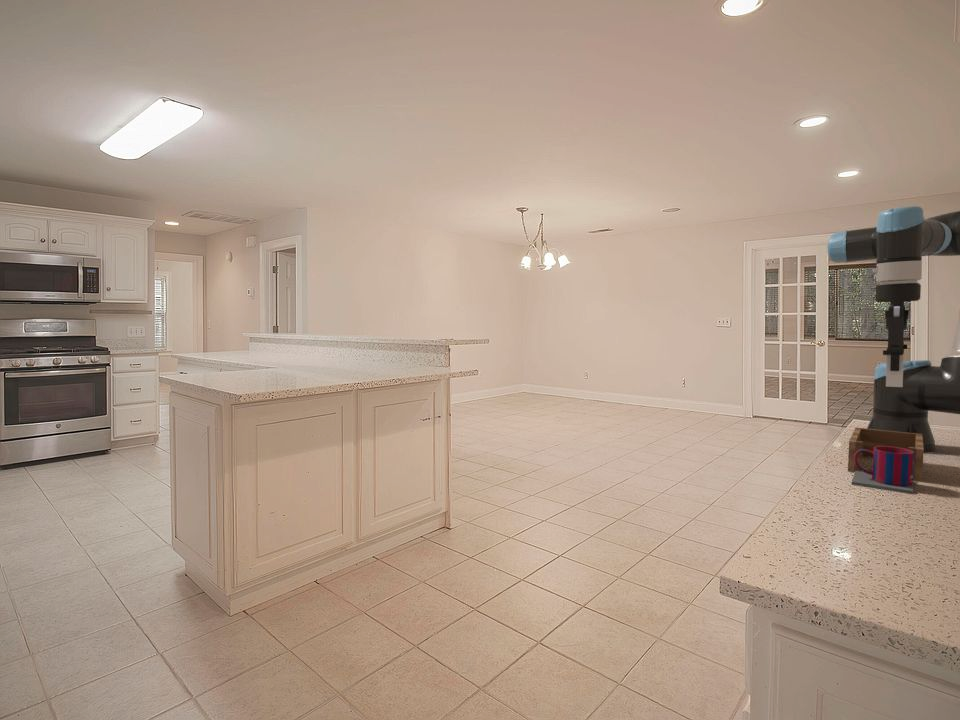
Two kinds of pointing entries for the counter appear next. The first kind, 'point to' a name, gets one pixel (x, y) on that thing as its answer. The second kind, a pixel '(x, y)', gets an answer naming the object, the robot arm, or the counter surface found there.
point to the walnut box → (875, 437)
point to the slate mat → (877, 483)
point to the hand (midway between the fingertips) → (894, 382)
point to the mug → (890, 465)
